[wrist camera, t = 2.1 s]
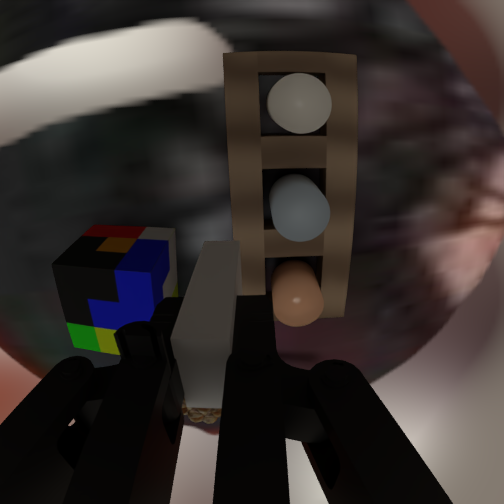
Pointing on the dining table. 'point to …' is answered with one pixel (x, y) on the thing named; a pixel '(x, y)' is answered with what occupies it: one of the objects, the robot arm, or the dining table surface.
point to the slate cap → (298, 208)
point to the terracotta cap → (296, 293)
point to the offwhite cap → (299, 103)
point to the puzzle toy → (114, 281)
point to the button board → (293, 156)
